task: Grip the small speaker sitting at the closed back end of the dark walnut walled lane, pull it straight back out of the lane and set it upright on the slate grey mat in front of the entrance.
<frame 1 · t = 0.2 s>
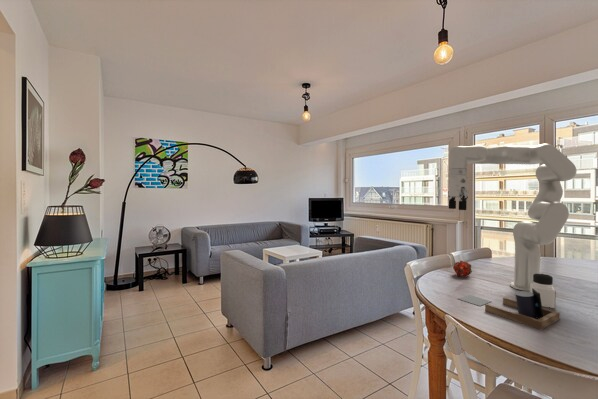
hand: (457, 209, 138), 37 cm above the table, tool pointing down, fingers open, 9 cm apart
speaker: (528, 318, 106), on the table
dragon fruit: (462, 276, 158), on the table
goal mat: (474, 300, 123), on the table
walled lane: (518, 314, 109), on the table
medicine bottle: (542, 304, 119), on the table
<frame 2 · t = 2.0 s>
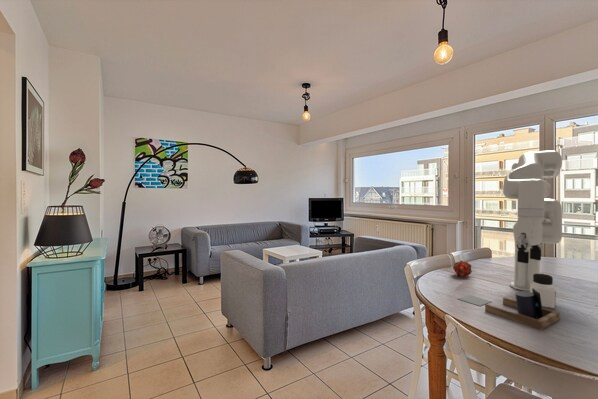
hand: (529, 261, 106), 21 cm above the table, tool pointing down, fingers open, 9 cm apart
nothing on the table moved.
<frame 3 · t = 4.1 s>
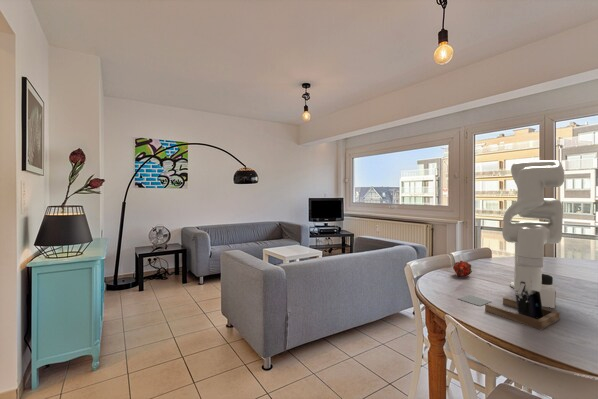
hand: (528, 310, 106), 3 cm above the table, tool pointing down, fingers closed on speaker, 6 cm apart
speaker: (528, 318, 106), on the table, touching gripper
everything else where it was.
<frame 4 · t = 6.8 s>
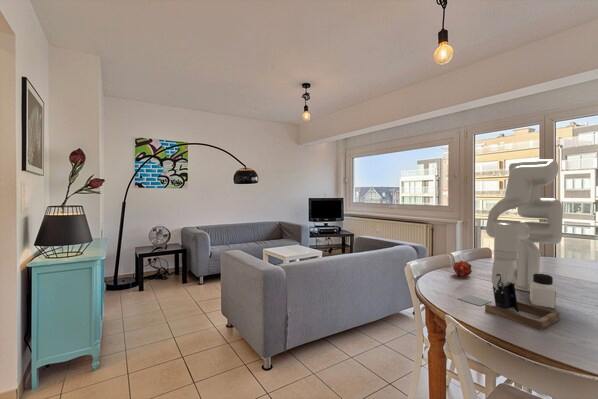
hand: (504, 300, 113), 3 cm above the table, tool pointing down, fingers closed on speaker, 6 cm apart
speaker: (504, 308, 113), point 1 cm above the table, touching gripper
everything else where it was.
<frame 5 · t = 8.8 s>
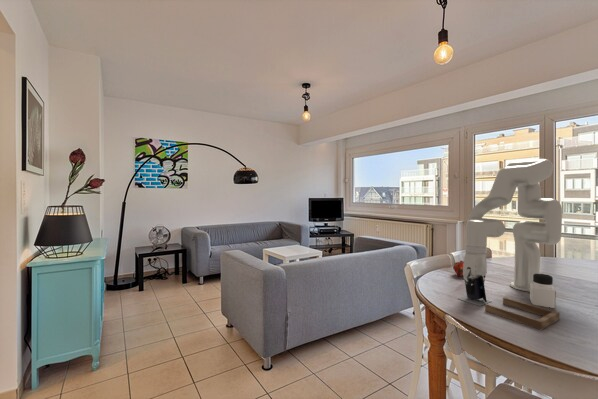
hand: (475, 292, 122), 3 cm above the table, tool pointing down, fingers closed on speaker, 6 cm apart
speaker: (474, 299, 122), point 1 cm above the table, touching gripper
everything else where it was.
when the fingers open (3 cm above the table, at t = 9.7 s): speaker stays where it is, resting on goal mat.
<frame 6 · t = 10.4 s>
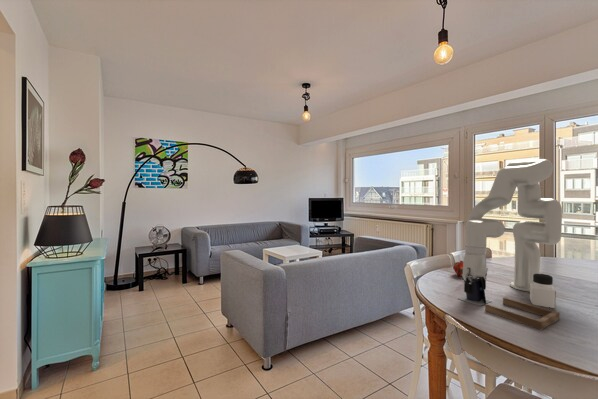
hand: (475, 290, 122), 4 cm above the table, tool pointing down, fingers open, 9 cm apart
speaker: (474, 300, 122), resting on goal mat
everything else where it was.
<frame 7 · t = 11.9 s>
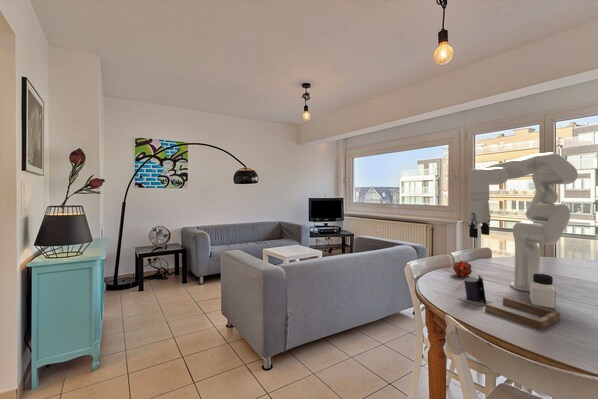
hand: (479, 236, 129), 26 cm above the table, tool pointing down, fingers open, 9 cm apart
nothing on the table moved.
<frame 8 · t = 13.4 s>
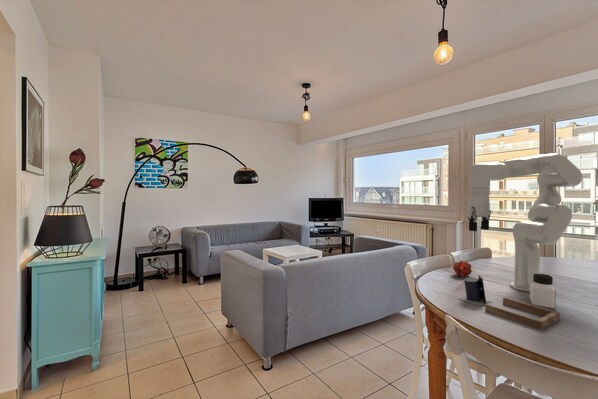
hand: (478, 230, 130), 28 cm above the table, tool pointing down, fingers open, 9 cm apart
nothing on the table moved.
at the end: speaker inside the target area (0.1 cm from its centre), resting on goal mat; speaker tilted 0°; the gripper is holding nothing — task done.
